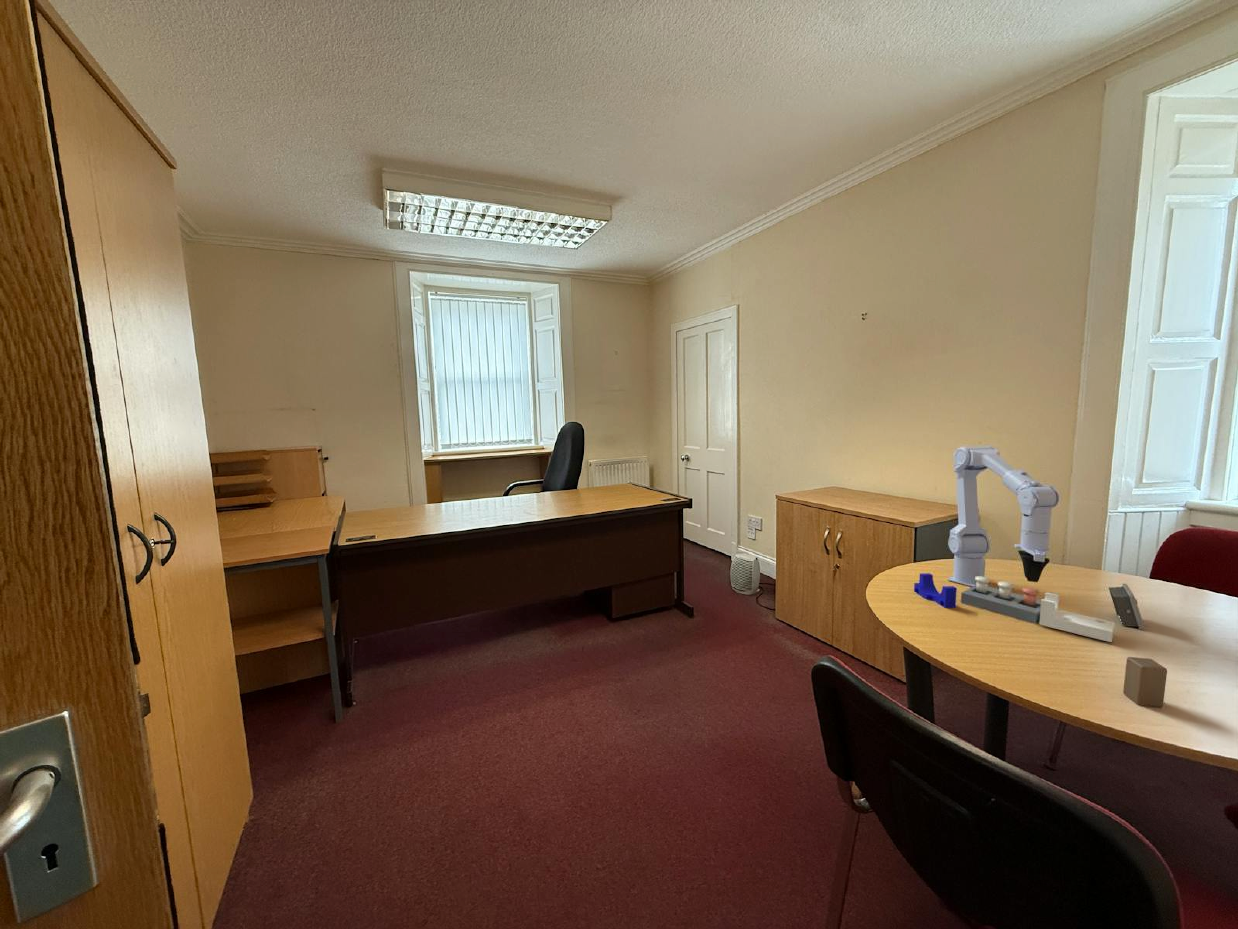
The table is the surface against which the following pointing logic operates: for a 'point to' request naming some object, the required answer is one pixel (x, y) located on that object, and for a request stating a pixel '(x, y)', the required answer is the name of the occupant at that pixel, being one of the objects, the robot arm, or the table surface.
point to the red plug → (1030, 596)
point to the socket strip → (1002, 604)
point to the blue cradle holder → (935, 591)
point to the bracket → (1073, 620)
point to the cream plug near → (982, 583)
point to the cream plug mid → (1005, 589)
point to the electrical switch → (1126, 606)
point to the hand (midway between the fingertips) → (1031, 579)
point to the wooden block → (1145, 681)
